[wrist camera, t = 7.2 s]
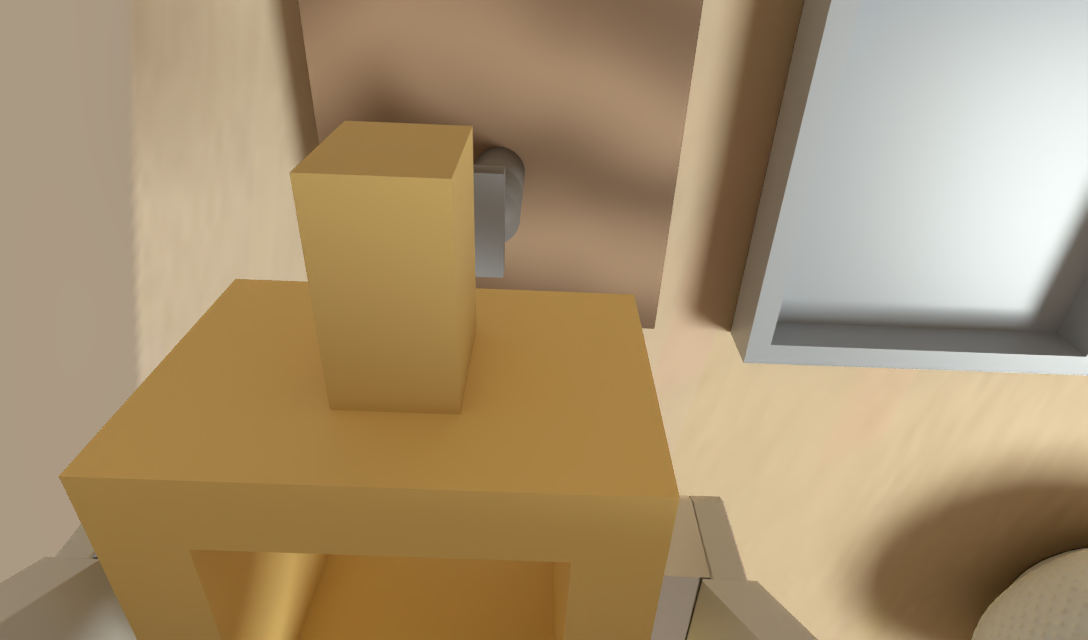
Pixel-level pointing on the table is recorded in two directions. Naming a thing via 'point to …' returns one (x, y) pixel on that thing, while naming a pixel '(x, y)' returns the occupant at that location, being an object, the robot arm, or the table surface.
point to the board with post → (530, 121)
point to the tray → (926, 191)
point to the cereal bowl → (1042, 603)
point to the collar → (388, 436)
